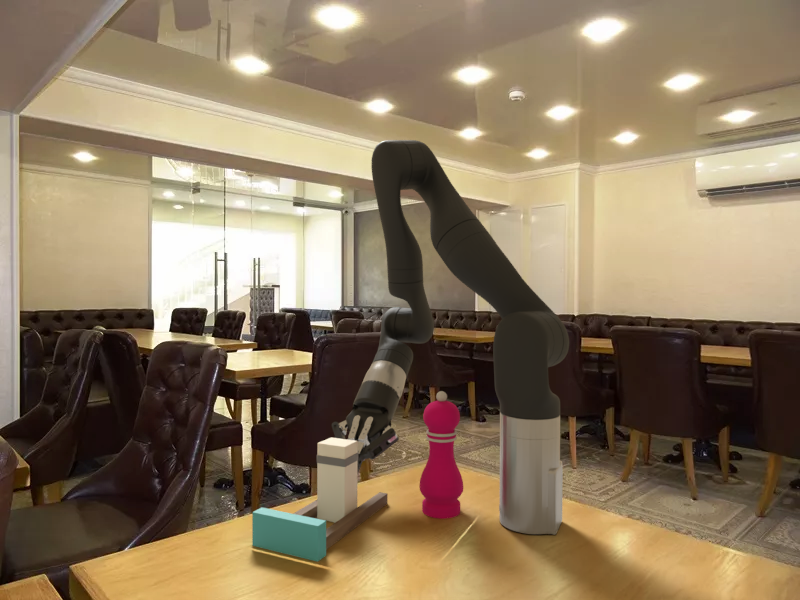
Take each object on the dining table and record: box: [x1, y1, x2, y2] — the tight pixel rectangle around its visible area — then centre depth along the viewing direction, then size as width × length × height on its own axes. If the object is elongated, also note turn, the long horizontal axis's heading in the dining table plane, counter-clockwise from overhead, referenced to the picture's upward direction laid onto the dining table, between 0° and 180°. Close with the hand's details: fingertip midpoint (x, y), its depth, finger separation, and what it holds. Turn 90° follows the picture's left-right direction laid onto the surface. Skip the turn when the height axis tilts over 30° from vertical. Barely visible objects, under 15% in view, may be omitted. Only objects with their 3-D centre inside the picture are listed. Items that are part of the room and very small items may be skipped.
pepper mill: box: [419, 390, 464, 520], centre depth 92 cm, size 7×7×20 cm
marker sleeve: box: [316, 437, 358, 523], centre depth 89 cm, size 5×4×12 cm
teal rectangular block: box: [251, 506, 327, 562], centre depth 77 cm, size 11×2×5 cm, turn 65°
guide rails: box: [292, 491, 388, 551], centre depth 87 cm, size 9×22×2 cm, turn 155°
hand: (346, 477), depth 91 cm, fingers closed
